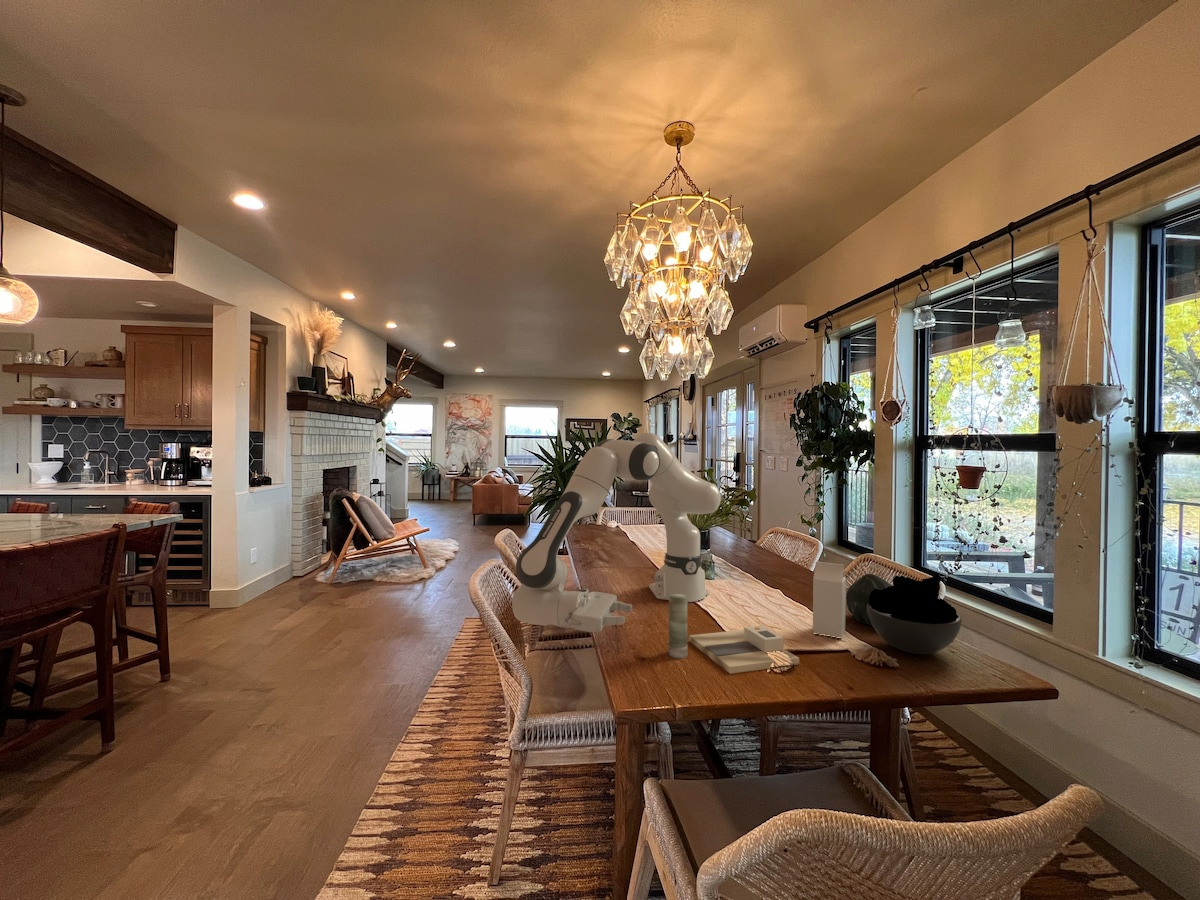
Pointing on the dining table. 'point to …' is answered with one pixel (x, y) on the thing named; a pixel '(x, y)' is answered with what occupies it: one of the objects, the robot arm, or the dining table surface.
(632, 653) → the dining table surface
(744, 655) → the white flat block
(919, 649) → the heaped grey bowl
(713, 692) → the dining table surface
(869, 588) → the squash
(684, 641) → the green cylinder
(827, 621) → the milk carton
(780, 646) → the block
